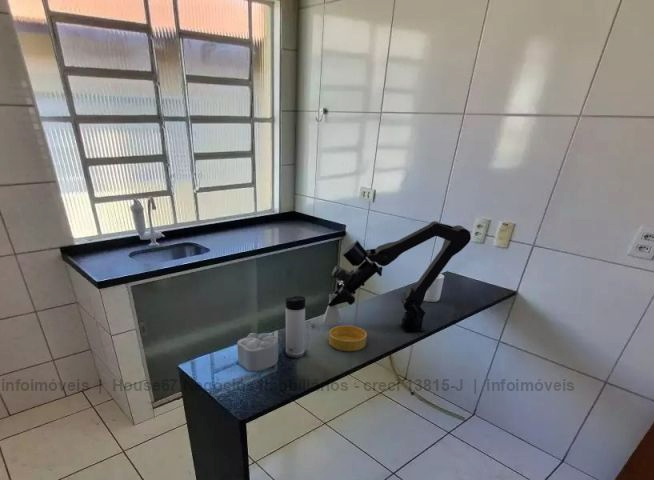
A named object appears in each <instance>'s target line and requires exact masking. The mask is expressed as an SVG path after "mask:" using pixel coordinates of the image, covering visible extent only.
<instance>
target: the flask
mask: <svg viewBox="0 0 654 480" xmlns="http://www.w3.org/2000/svg"><path fill="white" fill-rule="evenodd" d="M335 295H336V294H333V293H330V294H328V298H329V299H328V301H329V302H328V304H329V303H330V301H331V300H332V299H333V298H334V297H335ZM328 304H327V307H326V310H325V312H324V314H323V317H322V321H323V323H327V324H339V323H340V322H342V317H341V314H340V311H339V310H340V309H339V307H338V304H337V305H334V306H331V307H330V306H329V305H328Z"/></svg>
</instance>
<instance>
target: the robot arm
mask: <svg viewBox="0 0 654 480" xmlns="http://www.w3.org/2000/svg"><path fill="white" fill-rule="evenodd" d="M434 237H438V238H441V239H443V243H442V245H441V246H442V247H441V248H440V250H439V252H438V253H437V254H436V255H435V257H434V259H433V260H432V261H431V262H430V264H429V266H428V267H427V268H426V270H424V272H423V273H422V275H421V276H420V278H419V279H418V281H417V282H416V283H415V284H414V285H412V286H411V285H410V284H409V285H407V287H406V289H405V290H404V291H403V292H402V293H401V299H400V300H401V304H402V306H403V309H404V310H405V311H404V313H403V316H402V319H401V324H400V326H401V328H402V329H403V330H404V332H405V333H421V332H424V329H423V328H422V327H423V321H424V317H425V315H426V311H425V310H424V307H423V305H422V304H423V302H424V301H423V300H424V297H425V294H426V291H427V290H428V289H429V287H430V286H431V285H432V283H433V282H434V281H435V279H436V278H437V277H438V275H439V274H441V272H442V271H443V270H444V268H445V267H446V266H447V265H448V263H449V262H450V261H451V260H452V258H453V257H454V256H455V255H457V254H459V253H460V252H461V251H463V249H464V248H466V246H467V245H468V244H469V243H470V242H471V239H472V236H471V232H470V231H469V230H468V229H467V228H465V226H463V225H461V224H460V225H459V224H457V225H450V224H445V223H441V222H439V221H437V220H435V221H431V222H430V223H429V224H427V225H425V226H422V227H421V228H419V229H417V230H416V231H414V232H412V233H410V234H408V235H406V236H404V237H402V238H400V239H398V240H396V241H392V242H391V241H390V242H386V243H384V244H379V245H378V246H377V247H376V248H370V249H365V248H364V246H363V245H362V244H361V243H360V241H359V240H356V241H354V242H352V243H351V244H349V245H348V246H347V247H346V248H345V249H344V250H343V252H342V254H341V255H342V256H343V257H344V258H345V260H347V261H348V262H349V264H350V265H351V266H352V267H355V266H356V268H355V269H351V270H350V271H349V270H347V269H346V268H343V267H341V266H339V265H335V266H334V268H333V271H331V277H333V278H334V279H337V282H336V288H335V290H334V291H333V293H332V294H336V295H335V297H334V298H333V299H332V300H331V301H330V303H329V300H328V301H327V302H328V304H327V306H328V305H329V306H330V307H331V306H334V305H337V306H338V305H340V304H344V303H345V304H346V303H347V304H348V305H349V306H352V305H353V304H354V303H355V302H356V296H355V294H356V293H357V290H358V289H360V287H365V284H366V282H367V281H369V280H370V279H371V278H372V277H373V276H375V274H377V275H378V276H379V277H382V275H383V269H384V268H383V267H386V266H388V265H390V264H392V263H393V262H395V260H397V259H398V258H399V257H400V256H401V255H402V254H403V253H405V252H407V251H409V250H411V249H413V248H415V247H417V246H418V245H421V244H423V243H424V242H427V241H428V240H431V239H432V238H434Z"/></svg>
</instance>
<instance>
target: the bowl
mask: <svg viewBox="0 0 654 480" xmlns="http://www.w3.org/2000/svg"><path fill="white" fill-rule="evenodd" d="M367 337H368V333H367V332H366V330H364V329H363V328H361V327H358V326H355V325H338V326H334V327H331V328H330V329H329V332H328V344H329V345H330V347H332V348H333V349H335V350H338V351H342V352H356V351H359V350H362V349H363V348H364V347H365V346H367Z"/></svg>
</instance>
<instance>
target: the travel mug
mask: <svg viewBox="0 0 654 480" xmlns="http://www.w3.org/2000/svg"><path fill="white" fill-rule="evenodd" d="M305 339H306V297H304V296H303V295H302V296H299V295H296V296H295V295H294V296H291V297H286V298H285V354H286V356H287V357H289V358H297V359H298V358H301V357H303V356H305V349H306V348H305V347H306V346H305V344H306V343H305V341H306V340H305Z"/></svg>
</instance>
